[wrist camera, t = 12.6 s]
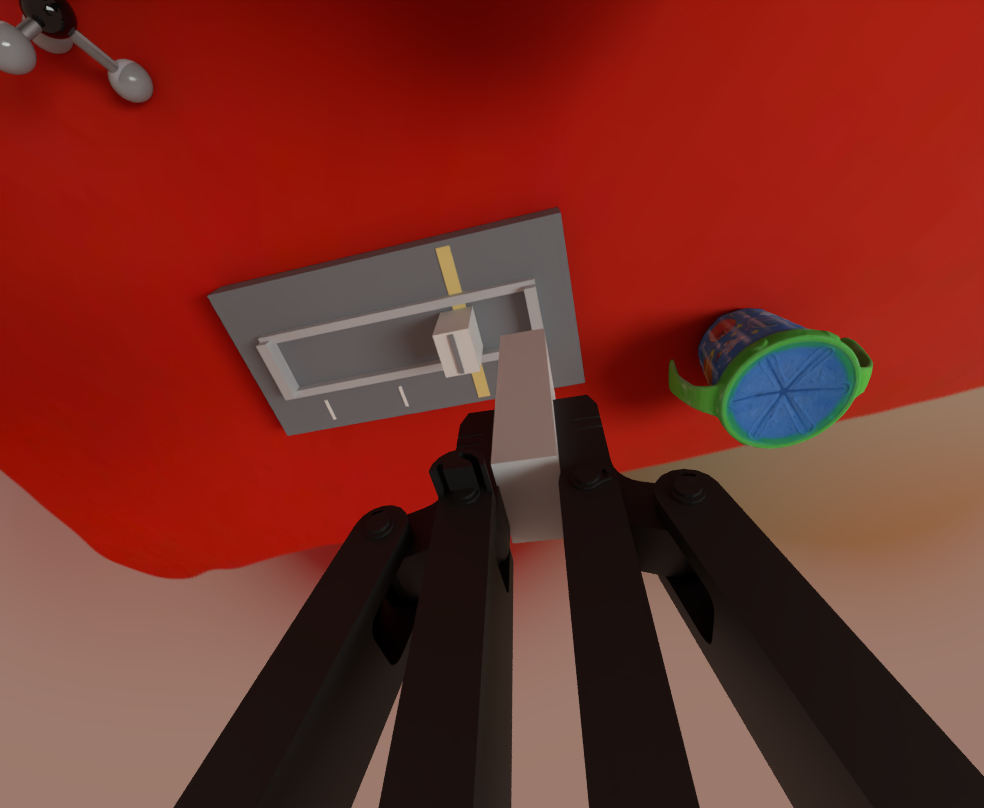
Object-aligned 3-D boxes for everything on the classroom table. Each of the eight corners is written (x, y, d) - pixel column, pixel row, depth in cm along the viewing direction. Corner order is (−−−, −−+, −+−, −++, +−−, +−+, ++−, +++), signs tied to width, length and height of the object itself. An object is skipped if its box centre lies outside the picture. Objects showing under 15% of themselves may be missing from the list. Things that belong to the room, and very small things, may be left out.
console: (220, 287, 44) (196, 302, 41) (558, 206, 39) (562, 216, 36) (296, 422, 52) (281, 444, 49) (581, 370, 48) (587, 391, 44)
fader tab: (440, 312, 42) (432, 336, 38) (472, 305, 42) (467, 329, 37) (452, 351, 44) (445, 378, 40) (483, 345, 44) (480, 372, 39)
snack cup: (839, 285, 42) (923, 332, 33) (803, 386, 48) (867, 448, 39) (662, 292, 43) (700, 339, 34) (647, 390, 49) (677, 451, 40)
